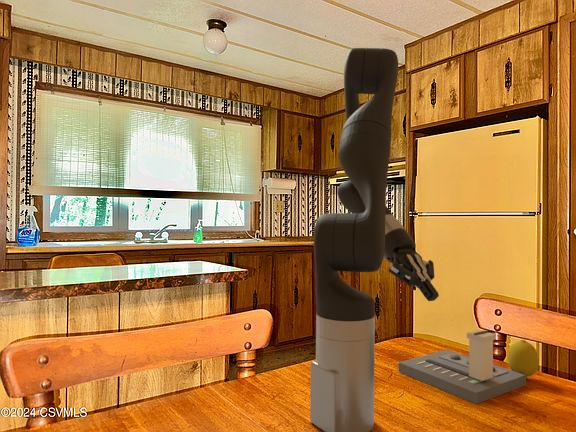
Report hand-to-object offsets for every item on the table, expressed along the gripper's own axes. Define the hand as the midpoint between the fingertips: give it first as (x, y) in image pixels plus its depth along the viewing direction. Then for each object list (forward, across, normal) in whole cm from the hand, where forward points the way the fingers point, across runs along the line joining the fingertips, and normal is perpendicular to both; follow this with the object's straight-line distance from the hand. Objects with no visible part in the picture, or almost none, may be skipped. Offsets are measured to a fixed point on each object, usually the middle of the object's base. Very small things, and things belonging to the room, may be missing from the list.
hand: (434, 298), depth 89 cm
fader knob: (+17, 0, +2) cm, 17 cm away
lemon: (+19, +13, +3) cm, 23 cm away
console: (+14, +2, +8) cm, 16 cm away
